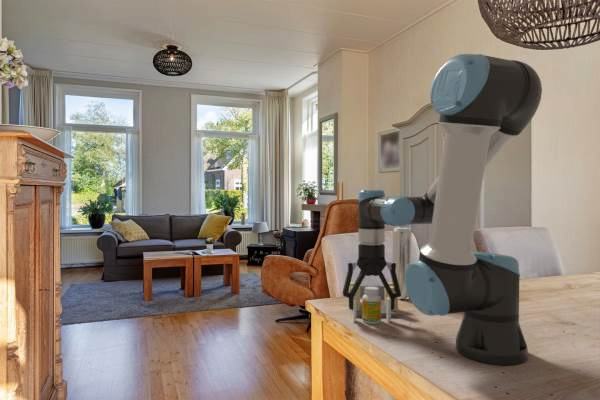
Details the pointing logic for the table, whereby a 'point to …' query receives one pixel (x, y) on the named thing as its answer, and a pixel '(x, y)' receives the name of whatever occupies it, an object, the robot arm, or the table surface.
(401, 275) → the chrome rod
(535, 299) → the table surface
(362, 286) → the grey holder rack
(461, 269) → the robot arm
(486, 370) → the table surface
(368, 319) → the supplement bottle
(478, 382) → the table surface
